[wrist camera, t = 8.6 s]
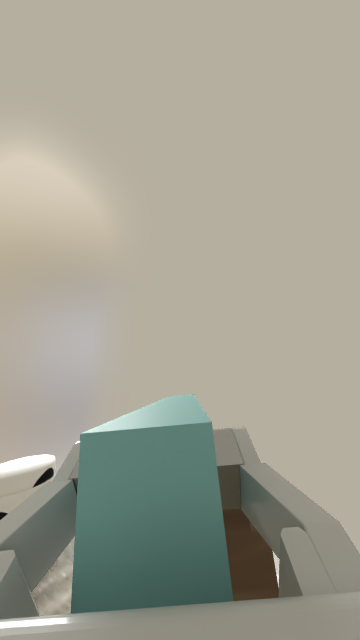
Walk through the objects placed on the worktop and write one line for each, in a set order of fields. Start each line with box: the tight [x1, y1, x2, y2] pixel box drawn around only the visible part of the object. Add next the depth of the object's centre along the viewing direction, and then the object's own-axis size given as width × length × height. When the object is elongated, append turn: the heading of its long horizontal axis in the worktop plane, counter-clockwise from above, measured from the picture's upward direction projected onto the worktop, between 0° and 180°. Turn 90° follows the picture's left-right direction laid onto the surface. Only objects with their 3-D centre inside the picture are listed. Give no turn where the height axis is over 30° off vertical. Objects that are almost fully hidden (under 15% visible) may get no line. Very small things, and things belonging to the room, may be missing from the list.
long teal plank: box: [71, 394, 233, 614], centre depth 17 cm, size 26×4×4 cm, turn 178°
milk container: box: [0, 455, 56, 520], centre depth 50 cm, size 17×17×18 cm
